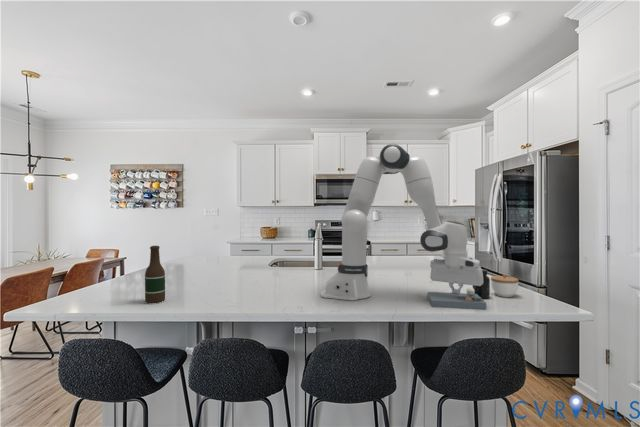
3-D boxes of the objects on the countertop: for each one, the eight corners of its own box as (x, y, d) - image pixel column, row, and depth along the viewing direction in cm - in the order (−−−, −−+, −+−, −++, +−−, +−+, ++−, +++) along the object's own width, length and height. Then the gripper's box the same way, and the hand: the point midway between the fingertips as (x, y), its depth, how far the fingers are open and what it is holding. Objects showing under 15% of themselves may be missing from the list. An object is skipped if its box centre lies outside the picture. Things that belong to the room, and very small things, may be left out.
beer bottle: (169, 300, 141) (168, 245, 141) (153, 305, 134) (153, 247, 134) (156, 298, 144) (156, 244, 144) (140, 302, 137) (140, 246, 137)
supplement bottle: (492, 299, 138) (491, 271, 138) (474, 298, 139) (474, 271, 139) (487, 295, 145) (486, 268, 145) (470, 294, 146) (470, 268, 146)
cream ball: (467, 295, 135) (467, 288, 135) (465, 293, 138) (465, 286, 138) (475, 296, 134) (475, 288, 134) (473, 294, 137) (473, 286, 137)
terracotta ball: (462, 300, 129) (471, 301, 127) (464, 295, 132) (473, 296, 130) (464, 306, 131) (472, 307, 129) (466, 301, 133) (474, 302, 131)
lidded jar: (492, 297, 142) (492, 276, 142) (489, 291, 152) (489, 271, 152) (520, 299, 138) (520, 277, 138) (516, 293, 148) (516, 273, 148)
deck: (431, 306, 128) (431, 300, 128) (427, 297, 142) (427, 291, 142) (486, 309, 124) (486, 302, 124) (476, 299, 138) (476, 293, 138)
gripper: (427, 259, 137) (428, 292, 137) (481, 263, 125) (481, 299, 125) (432, 257, 142) (433, 289, 142) (484, 261, 130) (484, 295, 130)
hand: (456, 293), depth 133 cm, fingers closed
